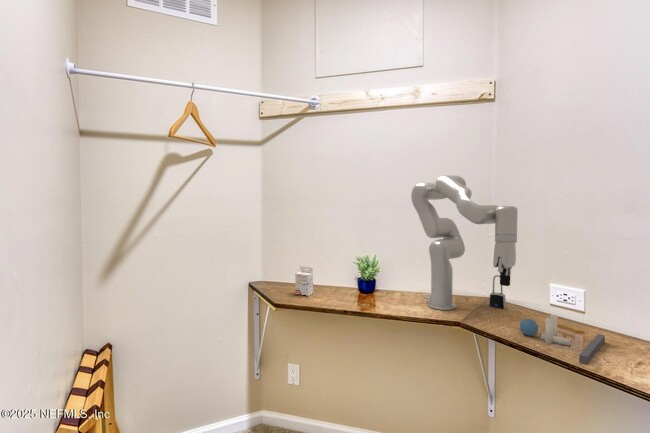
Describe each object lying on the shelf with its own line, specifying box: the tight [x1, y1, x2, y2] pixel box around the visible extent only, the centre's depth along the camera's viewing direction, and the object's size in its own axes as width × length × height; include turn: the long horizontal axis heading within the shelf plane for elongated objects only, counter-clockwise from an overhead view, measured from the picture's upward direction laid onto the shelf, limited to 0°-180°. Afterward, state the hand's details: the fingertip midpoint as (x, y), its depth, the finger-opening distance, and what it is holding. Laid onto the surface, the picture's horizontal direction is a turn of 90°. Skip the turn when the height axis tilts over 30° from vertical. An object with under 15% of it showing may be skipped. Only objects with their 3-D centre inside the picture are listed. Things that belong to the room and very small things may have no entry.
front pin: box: [540, 332, 572, 347], centre depth 123 cm, size 2×2×8 cm
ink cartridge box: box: [294, 266, 314, 295], centre depth 186 cm, size 9×5×15 cm, turn 58°
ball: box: [519, 318, 539, 337], centre depth 129 cm, size 6×6×6 cm
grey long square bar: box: [578, 333, 606, 365], centre depth 115 cm, size 2×24×2 cm, turn 131°
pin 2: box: [549, 314, 559, 337], centre depth 126 cm, size 2×2×8 cm
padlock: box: [488, 274, 507, 310], centre depth 162 cm, size 7×4×15 cm, turn 53°
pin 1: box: [544, 317, 554, 345], centre depth 122 cm, size 2×2×8 cm
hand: (504, 285), depth 135 cm, fingers closed
